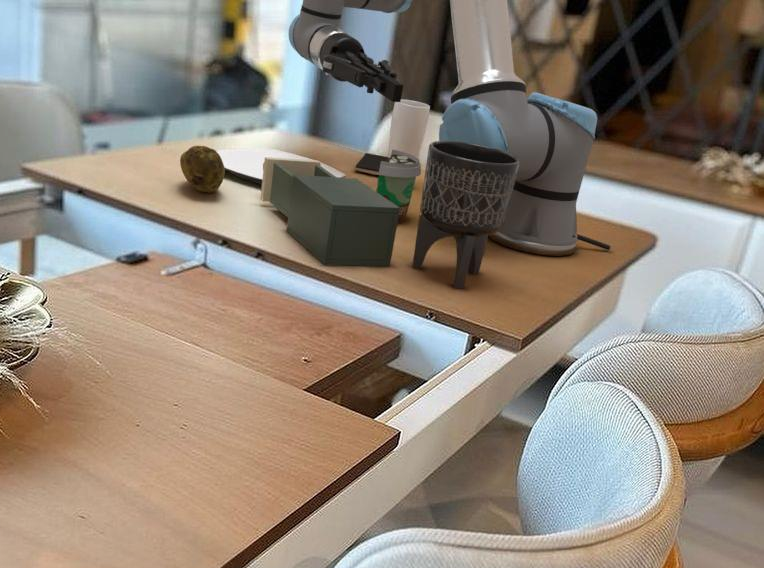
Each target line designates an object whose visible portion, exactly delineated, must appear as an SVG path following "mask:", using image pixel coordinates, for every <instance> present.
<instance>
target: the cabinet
mask: <svg viewBox="0 0 764 568" xmlns="http://www.w3.org/2000/svg"><path fill="white" fill-rule="evenodd" d="M399 211H400V208H399V207H398V206H396V205H395V204H393V203H392V202H390V201H389V200H388V199H386V198H385V197H383V196H382V195H380V194H379V193H377V190H374V189H373V188H372V187H370V186H368V185H367V184H366V183H364V182H363V181H361V180H360V179H358V178H353V177H344V178H339V177H322V176H305V175H293V181H292V190H291V198H290V206H289V214H288V217H287V225H286V233H288V234H289V235H290V236H291V237H292V238H293V239H294V240H295V241H297V242H298V243H299V244H300V245H301V246H302V247H304V249H305V250H307V251H308V252H309V254H311V255H312V256H313V257H315V259H317V260H318V261H319V262H320V263H321V264H323V266H351V267H352V266H353V267H354V266H356V267H357V266H360V267H361V266H362V267H391V262H392V257H393V251H394V246H395V239H396V234H397V227H398V224H399V223H398V217H399Z"/></svg>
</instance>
